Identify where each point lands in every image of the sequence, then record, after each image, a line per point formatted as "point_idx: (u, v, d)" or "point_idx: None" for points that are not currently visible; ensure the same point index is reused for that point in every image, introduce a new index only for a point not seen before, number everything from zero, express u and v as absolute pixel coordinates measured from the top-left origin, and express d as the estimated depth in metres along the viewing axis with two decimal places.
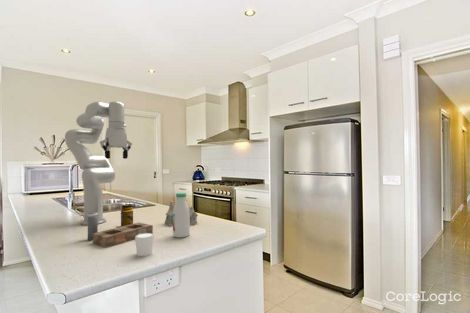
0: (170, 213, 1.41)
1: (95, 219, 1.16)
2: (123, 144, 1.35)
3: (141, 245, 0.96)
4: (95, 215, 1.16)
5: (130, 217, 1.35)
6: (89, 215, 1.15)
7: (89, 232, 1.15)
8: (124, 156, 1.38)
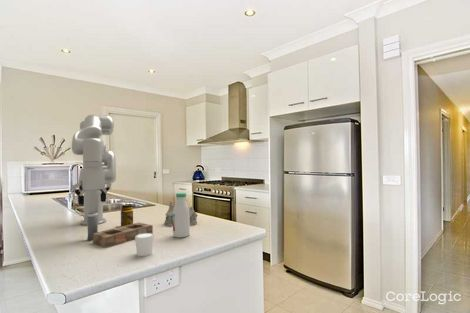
0: (170, 213, 1.40)
1: (95, 219, 1.16)
2: (100, 186, 1.17)
3: (141, 245, 0.96)
4: (95, 215, 1.16)
5: (130, 217, 1.35)
6: (89, 215, 1.15)
7: (89, 232, 1.15)
8: (102, 199, 1.20)
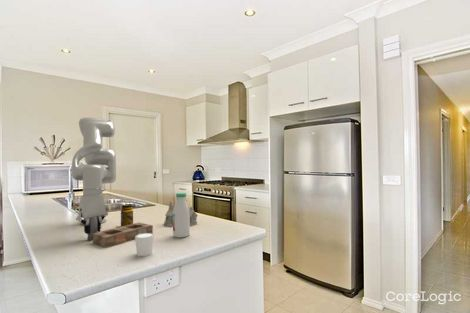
0: (169, 213, 1.40)
1: (95, 219, 1.16)
2: (100, 213, 1.18)
3: (141, 245, 0.96)
4: None
5: (130, 217, 1.35)
6: None
7: None
8: None
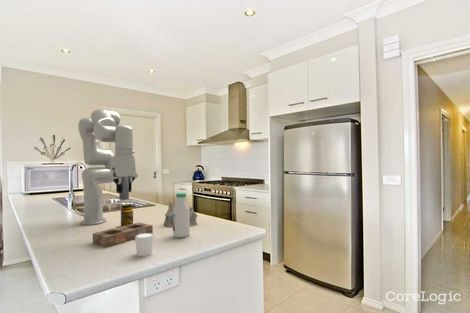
0: (169, 214, 1.39)
1: (127, 179, 1.18)
2: (131, 173, 1.19)
3: (141, 245, 0.96)
4: None
5: (130, 217, 1.35)
6: None
7: None
8: None
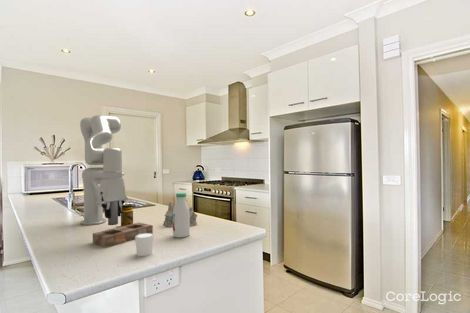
0: (169, 214, 1.39)
1: (116, 203, 1.13)
2: (120, 197, 1.15)
3: (141, 245, 0.96)
4: None
5: (130, 217, 1.35)
6: None
7: None
8: None
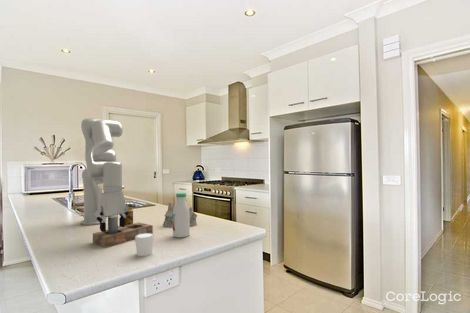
0: (169, 214, 1.38)
1: (115, 220, 1.13)
2: (120, 210, 1.15)
3: (141, 245, 0.96)
4: (115, 216, 1.13)
5: (130, 217, 1.35)
6: (109, 216, 1.12)
7: (109, 234, 1.12)
8: (121, 224, 1.17)
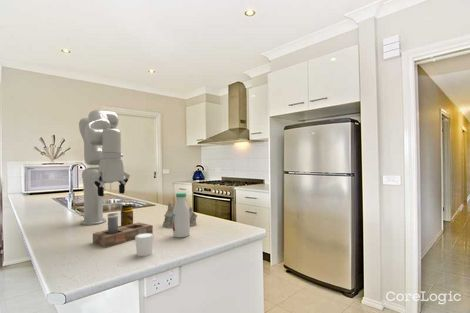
0: (169, 214, 1.38)
1: (115, 220, 1.13)
2: (119, 178, 1.16)
3: (141, 245, 0.96)
4: (115, 216, 1.13)
5: (130, 217, 1.35)
6: (109, 216, 1.12)
7: (109, 234, 1.12)
8: (120, 191, 1.18)
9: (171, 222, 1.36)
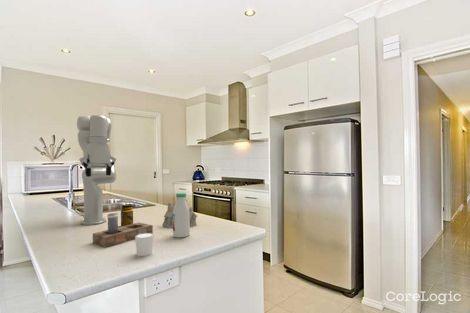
0: (168, 215, 1.37)
1: (115, 220, 1.13)
2: (106, 160, 1.26)
3: (141, 245, 0.96)
4: (115, 216, 1.13)
5: (130, 217, 1.35)
6: (109, 216, 1.12)
7: (109, 234, 1.12)
8: (107, 173, 1.29)
9: (171, 222, 1.36)
